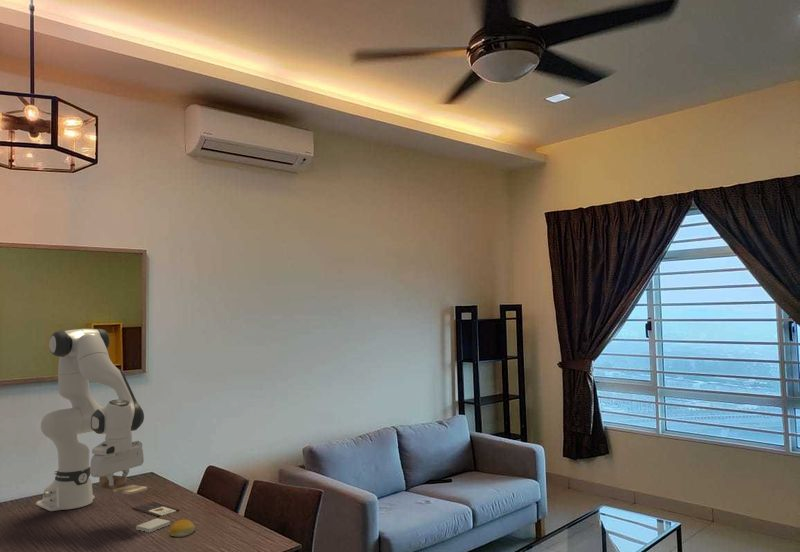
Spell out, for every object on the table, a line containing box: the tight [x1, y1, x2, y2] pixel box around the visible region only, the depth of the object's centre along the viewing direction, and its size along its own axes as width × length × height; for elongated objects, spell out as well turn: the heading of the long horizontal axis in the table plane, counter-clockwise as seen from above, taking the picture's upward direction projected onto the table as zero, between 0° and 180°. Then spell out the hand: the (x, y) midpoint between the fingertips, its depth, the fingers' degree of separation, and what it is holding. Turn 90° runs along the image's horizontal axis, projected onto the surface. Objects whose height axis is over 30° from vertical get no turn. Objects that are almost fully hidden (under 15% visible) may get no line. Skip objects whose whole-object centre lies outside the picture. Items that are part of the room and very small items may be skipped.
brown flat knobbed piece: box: [98, 474, 148, 495], centre depth 212 cm, size 19×7×4 cm, turn 65°
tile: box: [135, 517, 171, 534], centre depth 210 cm, size 2×9×7 cm
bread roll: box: [169, 519, 196, 538], centre depth 205 cm, size 8×9×4 cm
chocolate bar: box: [132, 501, 180, 518], centre depth 229 cm, size 9×1×18 cm
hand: (117, 483), depth 212 cm, fingers closed on brown flat knobbed piece, 3 cm apart
